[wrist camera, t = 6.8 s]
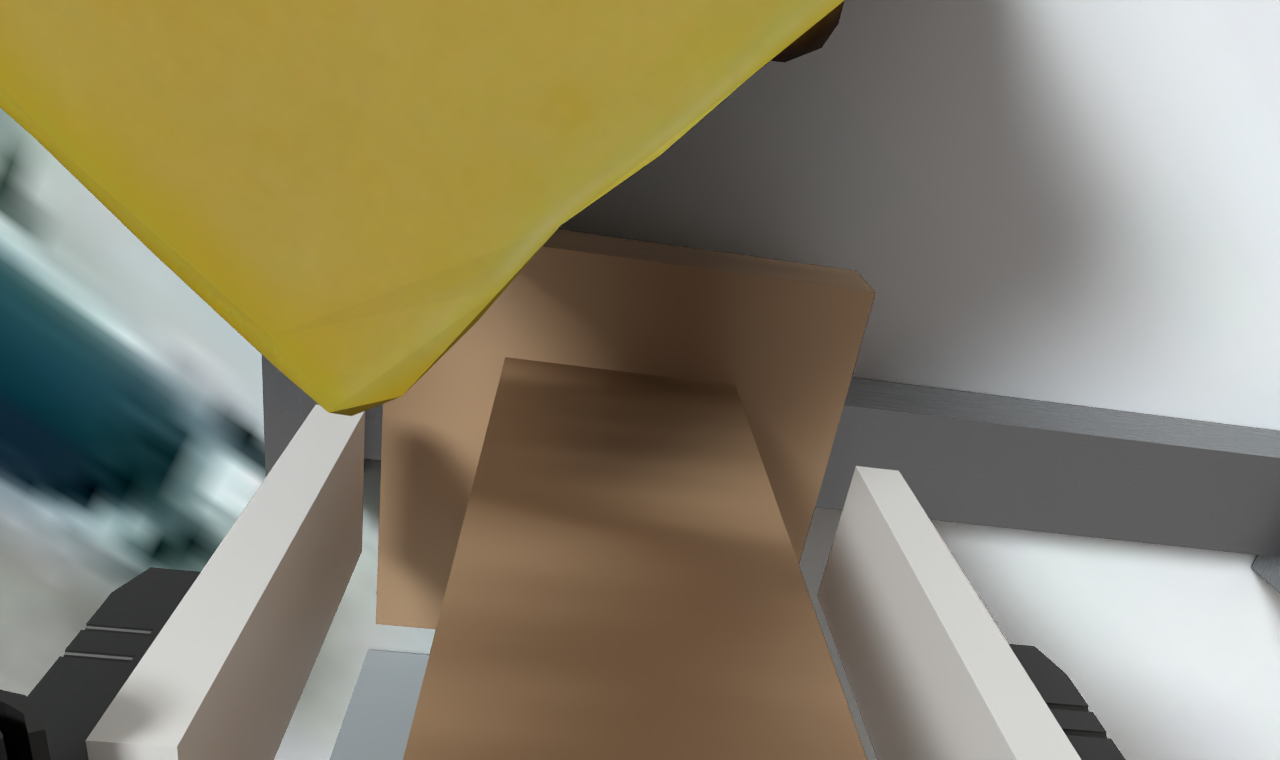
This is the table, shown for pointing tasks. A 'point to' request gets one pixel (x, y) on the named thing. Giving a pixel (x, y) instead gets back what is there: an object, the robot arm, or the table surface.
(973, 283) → the table surface
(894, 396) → the rail
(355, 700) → the housing
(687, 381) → the carriage
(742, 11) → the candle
